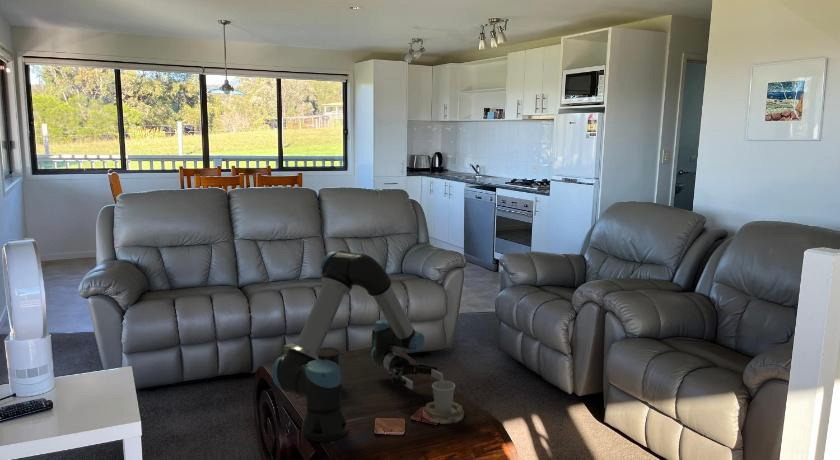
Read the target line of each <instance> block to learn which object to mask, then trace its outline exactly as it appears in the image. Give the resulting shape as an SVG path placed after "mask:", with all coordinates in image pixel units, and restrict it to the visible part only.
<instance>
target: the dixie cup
mask: <svg viewBox="0 0 840 460" xmlns="http://www.w3.org/2000/svg"><path fill="white" fill-rule="evenodd" d="M431 388H432V394H433V401H434V405H435V411H436V412H437V413H439V414H450V413H451V409H452V402H453V401H454V394H455V388H456V384H455V383H454V382H452V381H450V380H443V381H439V380H437V381H435V382H433V383H432V384H431Z"/></svg>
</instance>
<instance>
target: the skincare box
mask: <svg viewBox="0 0 840 460" xmlns="http://www.w3.org/2000/svg"><path fill="white" fill-rule="evenodd" d="M295 345H296V343H293V342H289V343H288V344H285V345H283V355H286V354H287V352H288V350H289V348H291V347H294V346H295Z"/></svg>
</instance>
